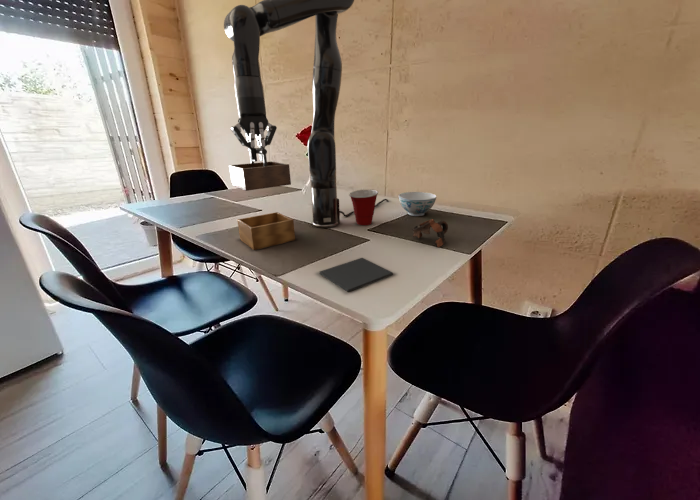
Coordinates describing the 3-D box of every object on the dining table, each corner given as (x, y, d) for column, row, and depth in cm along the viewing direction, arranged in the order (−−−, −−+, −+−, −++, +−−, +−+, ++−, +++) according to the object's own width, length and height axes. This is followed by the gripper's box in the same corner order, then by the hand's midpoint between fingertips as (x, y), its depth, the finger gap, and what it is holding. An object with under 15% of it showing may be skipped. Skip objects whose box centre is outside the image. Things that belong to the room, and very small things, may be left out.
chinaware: (397, 218, 123) (398, 199, 120) (398, 208, 137) (399, 191, 134) (436, 219, 121) (438, 200, 118) (433, 209, 135) (434, 192, 132)
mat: (362, 259, 86) (362, 257, 86) (392, 274, 78) (392, 272, 77) (319, 273, 79) (319, 271, 78) (347, 292, 70) (347, 289, 70)
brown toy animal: (434, 252, 92) (422, 227, 91) (415, 255, 100) (403, 232, 100) (460, 234, 97) (449, 210, 96) (440, 238, 105) (429, 217, 105)
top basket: (274, 179, 104) (270, 145, 100) (291, 184, 95) (287, 147, 91) (232, 185, 96) (226, 148, 92) (246, 190, 87) (240, 150, 83)
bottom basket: (279, 231, 111) (277, 212, 108) (295, 240, 102) (293, 219, 99) (240, 239, 103) (237, 219, 100) (253, 250, 94) (250, 228, 91)
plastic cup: (344, 221, 121) (344, 190, 116) (369, 217, 125) (370, 187, 120) (356, 229, 111) (356, 196, 107) (383, 225, 115) (383, 193, 111)
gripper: (229, 94, 80) (240, 164, 86) (278, 96, 87) (285, 160, 94) (220, 96, 85) (231, 162, 92) (267, 98, 93) (274, 158, 99)
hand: (258, 160), depth 93 cm, fingers closed on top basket
